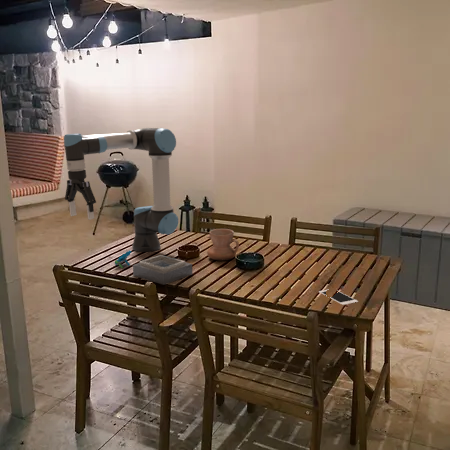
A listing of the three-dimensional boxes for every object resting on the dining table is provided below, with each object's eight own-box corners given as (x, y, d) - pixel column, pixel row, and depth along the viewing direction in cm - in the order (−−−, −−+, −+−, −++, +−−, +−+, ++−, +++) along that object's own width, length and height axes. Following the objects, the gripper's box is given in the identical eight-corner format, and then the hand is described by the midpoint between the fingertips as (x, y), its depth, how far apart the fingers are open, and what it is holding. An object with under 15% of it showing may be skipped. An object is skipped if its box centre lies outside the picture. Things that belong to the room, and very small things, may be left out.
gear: (123, 257, 249) (132, 246, 243) (131, 266, 248) (140, 255, 242) (108, 266, 240) (117, 255, 234) (116, 275, 239) (126, 264, 233)
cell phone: (342, 306, 191) (342, 304, 191) (318, 292, 206) (318, 291, 205) (358, 302, 195) (358, 301, 195) (333, 289, 209) (333, 288, 209)
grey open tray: (162, 266, 240) (161, 253, 239) (192, 274, 228) (192, 260, 227) (133, 275, 227) (132, 261, 225) (163, 284, 215) (163, 270, 213)
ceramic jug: (199, 259, 250) (199, 232, 247) (214, 252, 263) (214, 226, 259) (231, 265, 242) (231, 237, 239) (244, 257, 254) (245, 230, 251)
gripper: (53, 169, 221) (59, 215, 226) (85, 172, 205) (91, 222, 211) (68, 167, 227) (73, 212, 232) (101, 170, 211) (106, 218, 216)
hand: (82, 217), depth 221 cm, fingers open, 13 cm apart
